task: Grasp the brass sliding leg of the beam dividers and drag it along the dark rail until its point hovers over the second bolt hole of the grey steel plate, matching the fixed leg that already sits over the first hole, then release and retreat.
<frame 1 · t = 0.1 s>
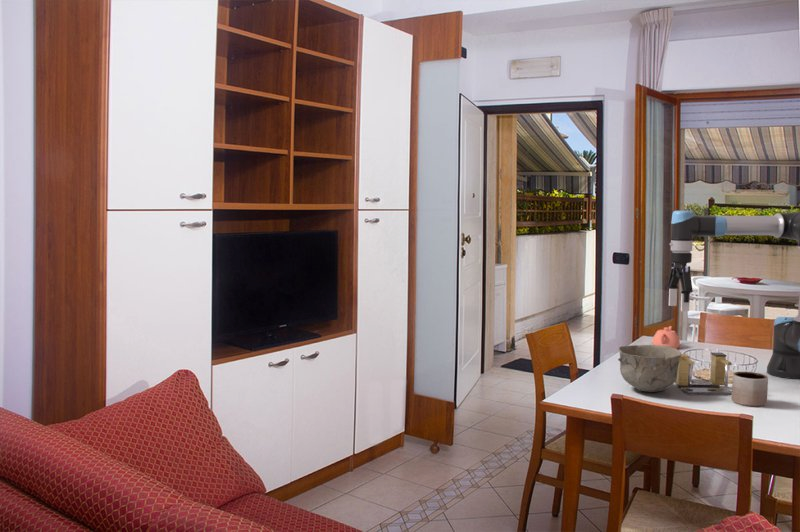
hand: (678, 308, 269), 28 cm above the table, fingers open, 13 cm apart
fixed leg: (681, 387, 263), resting on hole plate
teapot: (666, 347, 336), on the table
sliding leg: (721, 370, 259), point 7 cm above the table, slide at 0.0 cm
rail: (697, 387, 263), on the table
planter: (748, 403, 243), on the table
hole plate: (707, 392, 255), on the table
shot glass: (683, 381, 272), on the table
bowl: (648, 391, 257), on the table
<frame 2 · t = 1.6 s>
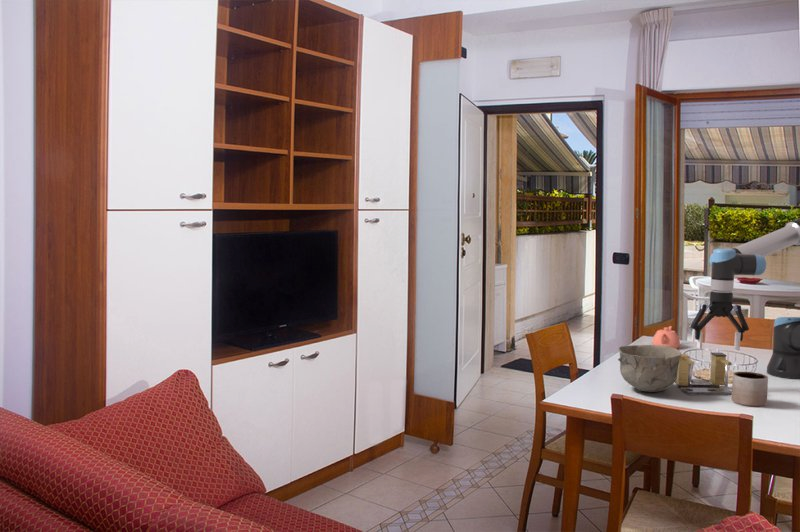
hand: (718, 349, 261), 14 cm above the table, fingers open, 13 cm apart
nothing on the table moved.
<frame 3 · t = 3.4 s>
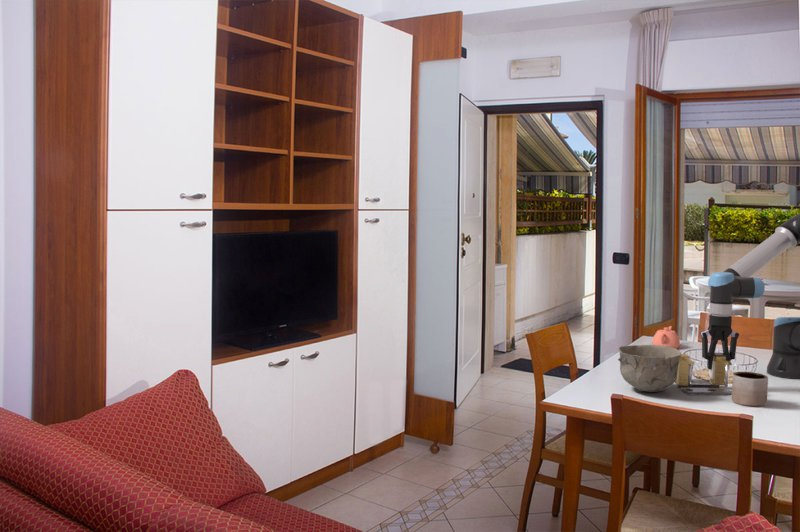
hand: (717, 377, 263), 4 cm above the table, fingers closed on sliding leg, 3 cm apart
sliding leg: (721, 370, 259), point 7 cm above the table, slide at 0.0 cm, touching gripper
everything else where it was.
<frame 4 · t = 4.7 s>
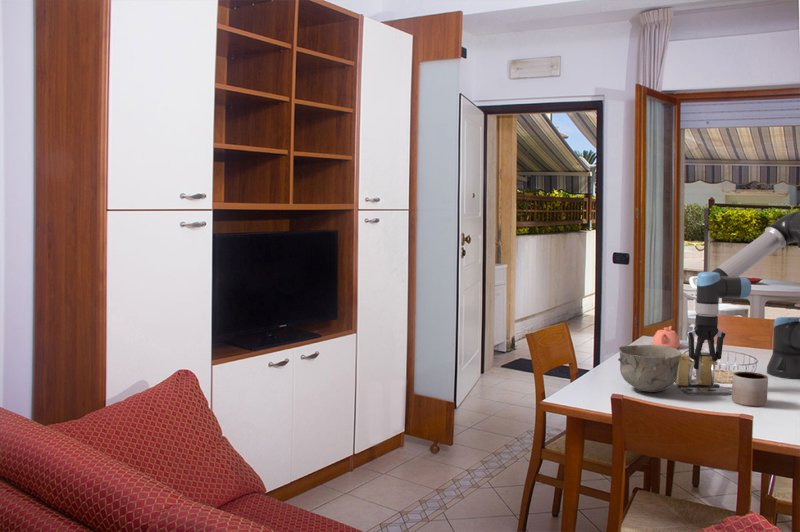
hand: (703, 377, 263), 4 cm above the table, fingers closed on sliding leg, 3 cm apart
sliding leg: (708, 370, 259), point 7 cm above the table, slide at 4.9 cm, touching gripper
everything else where it was.
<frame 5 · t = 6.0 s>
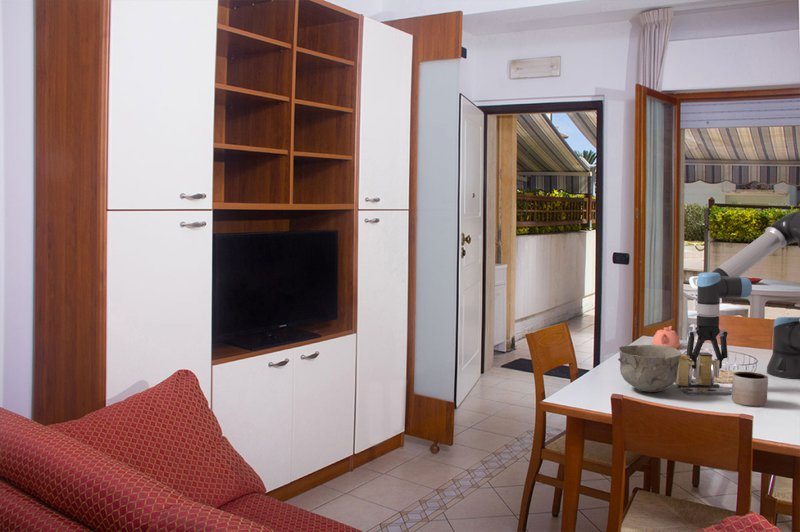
hand: (706, 377, 263), 4 cm above the table, fingers open, 7 cm apart
sliding leg: (708, 370, 259), point 7 cm above the table, slide at 5.0 cm
everything else where it was.
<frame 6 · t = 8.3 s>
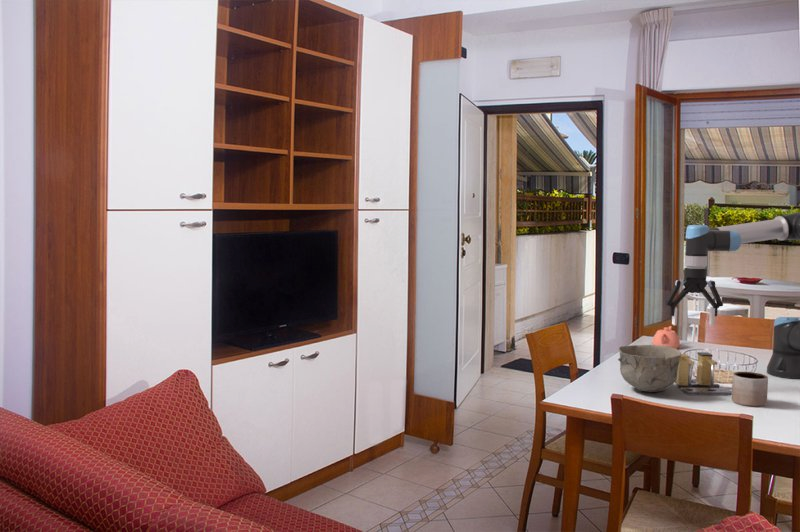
hand: (693, 325, 263), 23 cm above the table, fingers open, 13 cm apart
nothing on the table moved.
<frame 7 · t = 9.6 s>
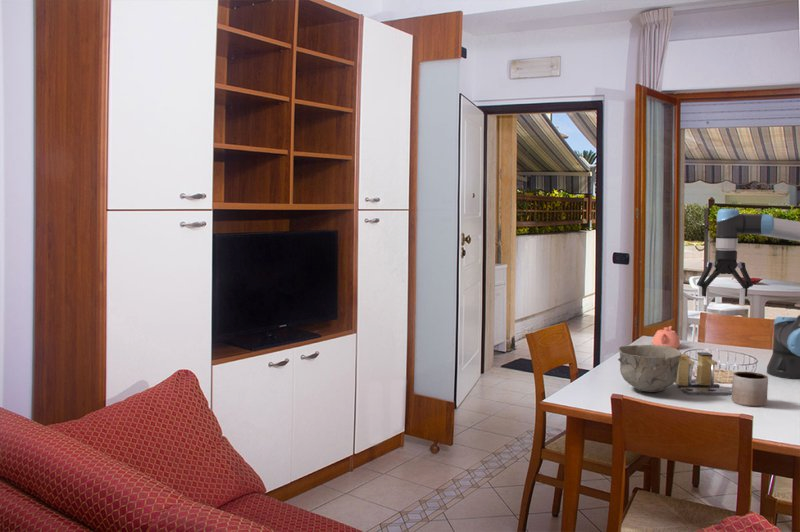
hand: (723, 305, 274), 29 cm above the table, fingers open, 13 cm apart
nothing on the table moved.
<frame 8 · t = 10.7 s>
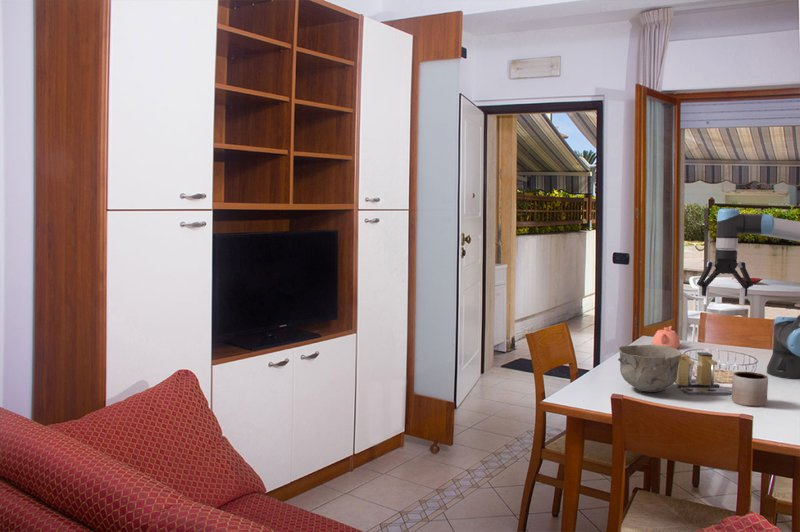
hand: (723, 304, 274), 29 cm above the table, fingers open, 13 cm apart
nothing on the table moved.
at the end: sliding leg slide at 5.0 cm; the gripper is holding nothing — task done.
